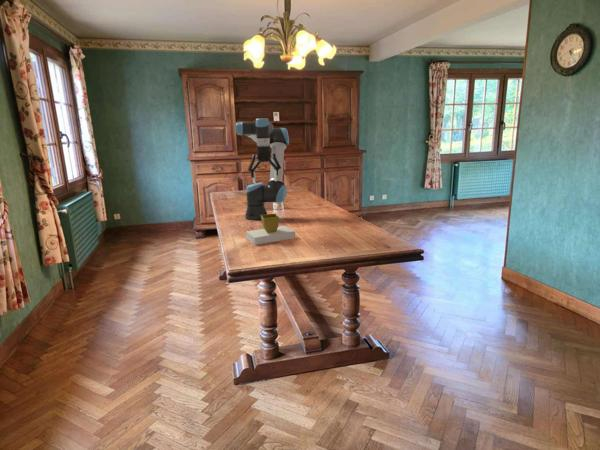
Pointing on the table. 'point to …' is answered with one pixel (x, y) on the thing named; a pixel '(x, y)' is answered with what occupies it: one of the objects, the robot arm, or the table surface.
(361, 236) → the table surface
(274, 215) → the flower pot
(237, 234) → the table surface
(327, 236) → the table surface
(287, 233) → the white stand
